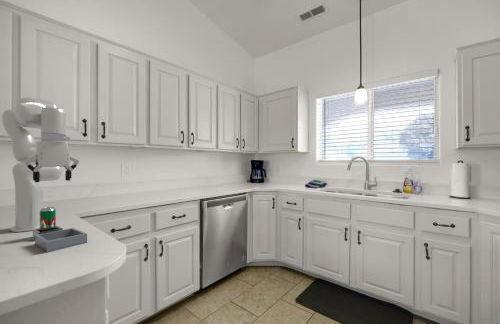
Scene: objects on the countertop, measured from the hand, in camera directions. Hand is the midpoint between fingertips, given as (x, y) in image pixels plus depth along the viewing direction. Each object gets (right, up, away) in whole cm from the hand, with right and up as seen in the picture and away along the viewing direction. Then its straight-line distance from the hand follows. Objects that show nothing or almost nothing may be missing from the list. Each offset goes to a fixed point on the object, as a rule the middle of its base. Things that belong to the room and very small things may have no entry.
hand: (53, 181), depth 92 cm
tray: (+7, -24, -5) cm, 25 cm away
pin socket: (-6, -24, +5) cm, 25 cm away
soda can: (-6, -24, +5) cm, 25 cm away
